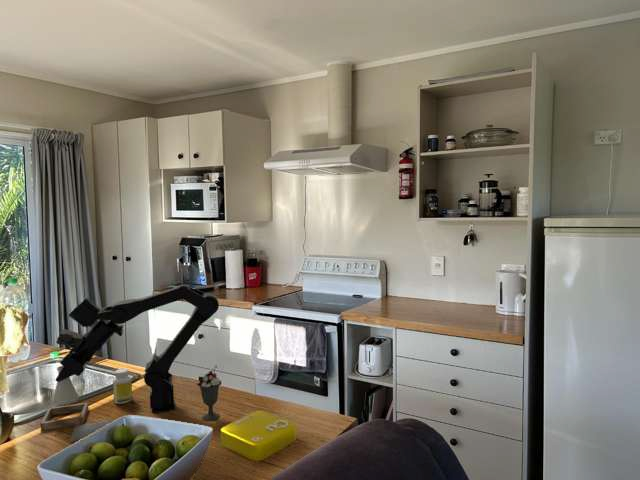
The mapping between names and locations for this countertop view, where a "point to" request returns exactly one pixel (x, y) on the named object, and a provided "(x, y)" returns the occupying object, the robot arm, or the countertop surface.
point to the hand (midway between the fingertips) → (58, 378)
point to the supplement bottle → (122, 386)
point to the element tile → (258, 435)
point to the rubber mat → (86, 430)
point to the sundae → (209, 393)
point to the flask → (64, 391)
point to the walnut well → (64, 422)
